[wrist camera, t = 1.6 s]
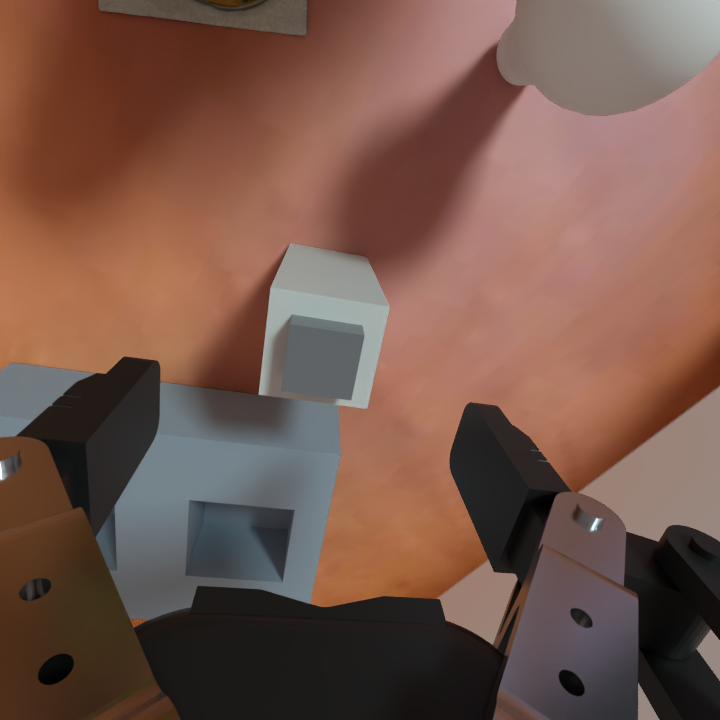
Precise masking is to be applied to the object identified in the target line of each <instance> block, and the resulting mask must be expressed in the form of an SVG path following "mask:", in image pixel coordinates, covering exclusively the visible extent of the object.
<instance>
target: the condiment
mask: <svg viewBox="0 0 720 720" xmlns="http://www.w3.org/2000/svg"><path fill="white" fill-rule="evenodd" d="M307 1H308V0H98V2H99V10H100V11H107V12H117V13H125V14H131V15H139V16H151V17H158V18H165V19H174V20H181V21H188V22H195V23H203V24H210V25H217V26H225V27H234V28H242V29H250V30H257V31H265V32H276V33H282V34H291V35H305V36H306V26H307Z"/></svg>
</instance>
